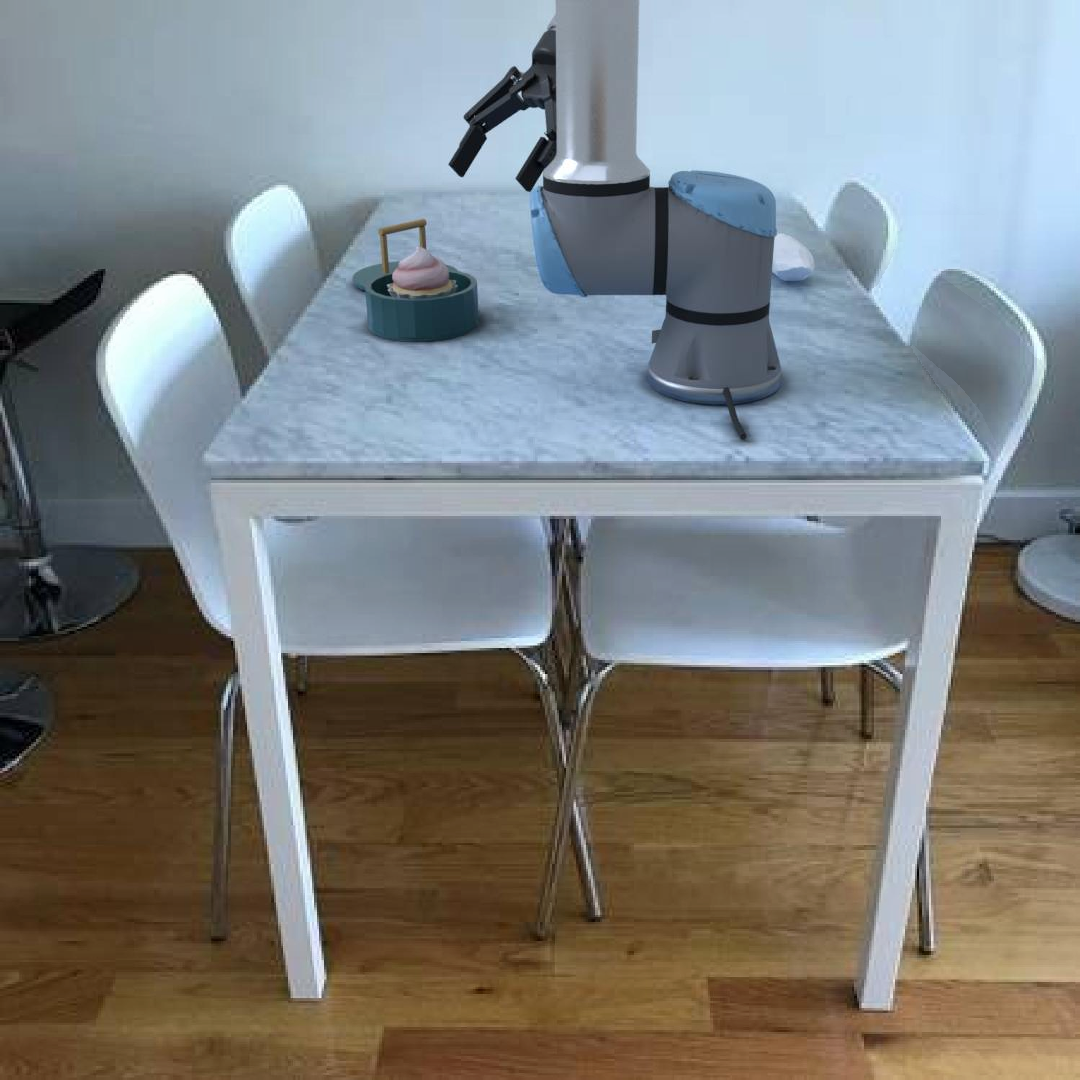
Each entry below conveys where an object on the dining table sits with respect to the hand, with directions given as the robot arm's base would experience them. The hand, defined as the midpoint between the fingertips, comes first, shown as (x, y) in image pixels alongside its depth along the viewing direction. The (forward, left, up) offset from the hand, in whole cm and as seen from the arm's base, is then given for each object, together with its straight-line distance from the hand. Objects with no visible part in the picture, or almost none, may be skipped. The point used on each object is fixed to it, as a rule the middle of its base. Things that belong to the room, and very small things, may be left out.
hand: (488, 178), depth 163 cm
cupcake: (-5, +11, -17) cm, 21 cm away
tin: (-5, +11, -17) cm, 21 cm away
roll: (-4, -44, -17) cm, 47 cm away
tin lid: (+15, +9, -17) cm, 24 cm away
